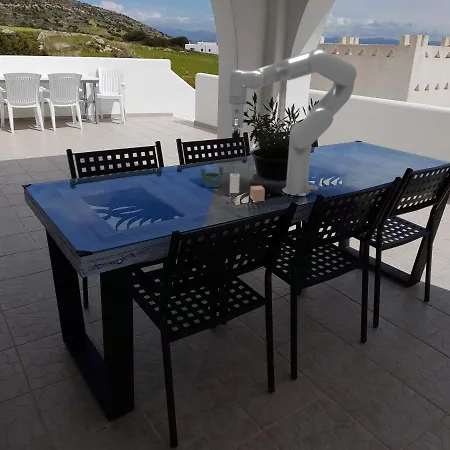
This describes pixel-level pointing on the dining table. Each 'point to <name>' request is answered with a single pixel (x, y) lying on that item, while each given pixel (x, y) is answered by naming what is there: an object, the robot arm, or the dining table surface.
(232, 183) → the cream block
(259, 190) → the terracotta block
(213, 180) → the green basket
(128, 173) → the dining table surface
